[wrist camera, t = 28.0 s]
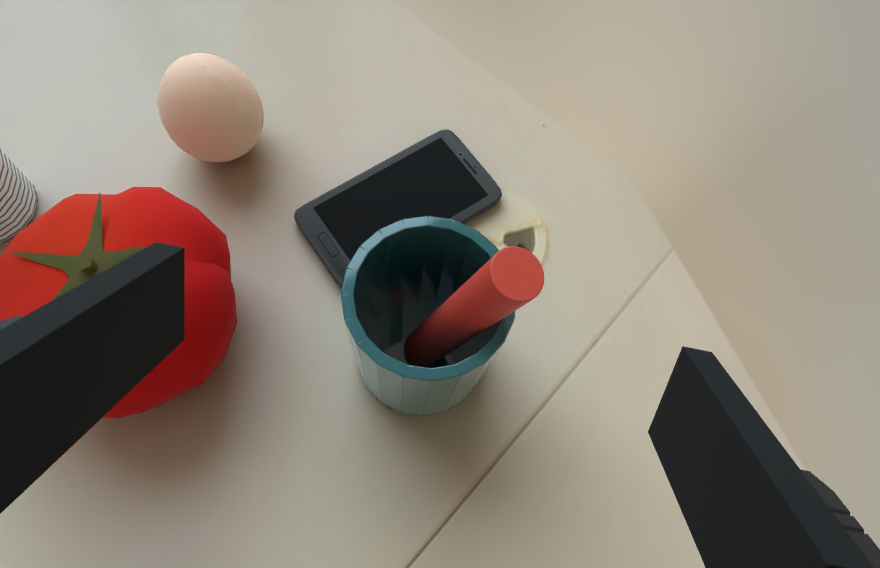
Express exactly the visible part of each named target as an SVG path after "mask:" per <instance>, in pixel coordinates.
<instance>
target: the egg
mask: <svg viewBox="0 0 880 568" xmlns="http://www.w3.org/2000/svg"><path fill="white" fill-rule="evenodd" d="M157 102H158V108H159V114H160V117H161V120H162V123H163V125H164V127H165V129H166V131H167V132H168V134H169V136H170V138H171V139H172V140H173V141H174V142H175V143H176V144H177V146H178V147H180V148H181V149H182V150H184V151H185V152H187V153H188V154H190V155H192V156H194V157H196V158H198V159H201V160H204V161H209V162H227V161H231V160H234V159H237V158H239V157H241V156H243V155H244V154H246V153H247V152H248V151H249V150H250V149H251V148H252V147H253V146H254V145H255V144H256V142H257V140H258V139H259V137H260V135H261V132H262V129H263V118H264V113H263V107H262V103H261V100H260V98H259V95H258V92H257V91H256V89H255V87H254V85H253V84H252V82H251V81H250V80H249V79H248V77H247V76H246V75H245V74H244V73H243V72H242V71H241V70H239V69H238V68H237V67H235V66H234V65H233V64H231V63H230V62H228V61H226V60H224V59H222V58H219V57H217V56H214V55H211V54H205V53H194V54H190V55H186V56H183V57H181V58H179V59H178V60H176V61H175V62H173V63H172V64H171V65H170V66H169V68H168V69H167V70H166V72H165V74H164V76H163V78H162V80H161V82H160V88H159V94H158V101H157Z"/></svg>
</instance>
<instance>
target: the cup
mask: <svg viewBox="0 0 880 568" xmlns="http://www.w3.org/2000/svg"><path fill="white" fill-rule="evenodd" d="M36 205H37V196H36V192H35V188H34V185H33V184H32V183H31V182H30V181H29V180H28V179H27V178H26V176H25V175H24V174H23V173H22V172H21V171H20V170H19V169H18V168H17V167H16V165H15V164H14V163H13V162H12V161H11V160H10V159H9V158H8V157H7V156H6V154H5V153H4V152H3V151H2V150H1V149H0V242H2V241H5V240H8V239H10V238H11V237H13V236H14V235H16V234H17V233H19V232H20V231H21V230H23V229H24V228H25V227H26V225H27V224H28V222H29V221H30V220H31V218H32V217H33V216H34V213H35V209H36Z"/></svg>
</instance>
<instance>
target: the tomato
mask: <svg viewBox="0 0 880 568" xmlns="http://www.w3.org/2000/svg"><path fill="white" fill-rule="evenodd" d="M154 242H159V243H164V244H169V245H174V246H179V247H184V250H185V340H184V341H183V342H182V343H181V344H180V345H179V346H177V347H176V348H175V349H174V350H173V351H172V352H171V353H170V354H169V355H168V356H167V357H166V358H165V359H164V360H163V361H162V362H161V363H159V364H158V365H157V366H156V367H155V368H154V369H153V370H152V371H151V372H150V373H149V374H148V375H147V376H146V377H145V378H144V379H142V380H141V381H140V382H139V383H138V384H137V385H136V386H135V387H134V388H133V389H132V390H131V391H130V392H129V393H128V394H127V395H126V396H124V397H123V398H122V399H121V400H120V401H119V402H118V403H117V404H116V405H115V406H114V407H113V408H112V409H111V410H110V411H109V412H108V413H106V414H105V415H104V416H103V417H114V418H120V417H124V416H127V415H131V414H135V413H139V412H143V411H146V410H148V409H151V408H153V407H156V406H158V405H160V404H162V403H164V402H166V401H168V400H170V399H172V398H174V397H176V396H178V395H180V394H182V393H184V392H186V391H188V390H190V389H192V388H194V387H196V386H198V385H200V384H202V383H203V382H204V381H205V379H206V378H207V377H208V376H209V375H210V374H211V373H212V372H213V370H214V369H215V368H216V367H217V366H218V365H219V364H220V362H221V361H222V360H223V359H224V358H225V355H226V352H227V350H228V347H229V344H230V341H231V338H232V335H233V332H234V330H235V327H236V324H237V316H236V304H235V292H234V289H233V286H232V282H231V270H230V254H229V249H228V244H227V239H226V235H225V234H224V233H223V232H222V231H221V230H220V229H219V228H217V227H216V226H215V225H214V224H213V223H212V222H211V221H210V220H209V219H208V218H207V217H206V216H205V215H204V214H203V213H202V212H201V211H200V210H198V209H197V208H195V207H193V206H192V205H190V204H188V203H186V202H184V201H183V200H181V199H179V198H177V197H175V196H174V195H172V194H170V193H169V192H167V191H166V190H164V189H162V188H161V187H132V188H130V189H128V190H126V191H124V192H122V193H119V194H117V195H102V194H100V193H99V194H75V195H72V196H70V197H68V198H65V199H63V200H62V201H61V202H59V203H58V204H57V205H55V206H54V207H53V208H51V209H50V210H48V211H47V212H46V213H44V214H43V215H42V216H40V217H39V218H38V219H36V220H35V221H34V222H32V223H31V224H30V225H28V226H27V227H26V228H24V229H23V230H22V231H20V232H19V233H17V234H16V235H15V237H14V238H13V239H12V241H11V242H10V243H9V245H8V246H7V247H6V249H5V250H4V251H3V253H2V254H1V255H0V321H2V320H5V319H8V318H12V317H15V316H23V317H24V316H25V315H27V314H29V313H31V312H32V311H34V310H36V309H38V308H40V307H41V306H43V305H45V304H47V303H48V302H50V301H52V300H54V299H55V298H57V297H59V296H61V295H63V294H64V293H66V292H68V291H70V290H71V289H73V288H75V287H77V286H78V285H80V284H82V283H84V282H86V281H87V280H89V279H91V278H93V277H94V276H96V275H98V274H100V273H101V272H103V271H105V270H107V269H108V268H110V267H112V266H114V265H116V264H117V263H119V262H121V261H123V260H124V259H126V258H128V257H130V256H131V255H133V254H135V253H137V252H139V251H140V250H142V249H144V248H146V247H147V246H149V245H151V244H153V243H154Z"/></svg>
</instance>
